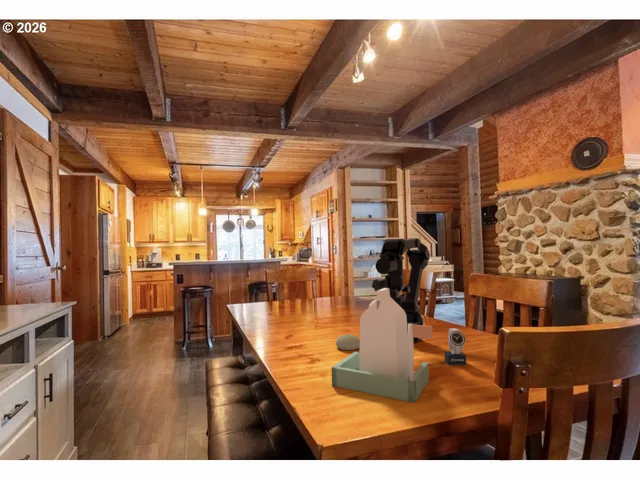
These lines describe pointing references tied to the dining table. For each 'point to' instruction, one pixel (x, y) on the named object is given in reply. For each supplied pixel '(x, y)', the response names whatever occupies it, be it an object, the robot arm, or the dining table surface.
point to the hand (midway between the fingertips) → (396, 314)
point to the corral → (385, 385)
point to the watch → (455, 348)
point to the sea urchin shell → (348, 342)
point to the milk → (384, 338)
